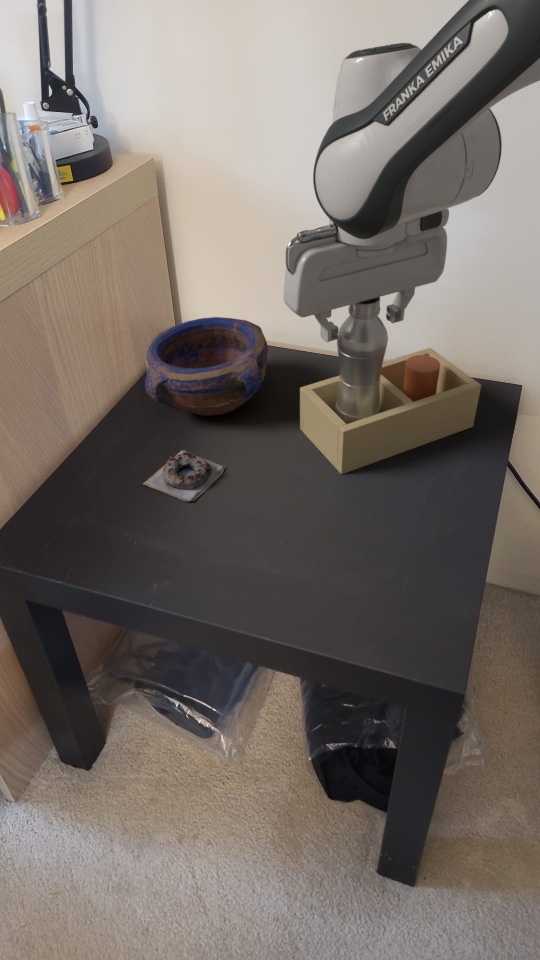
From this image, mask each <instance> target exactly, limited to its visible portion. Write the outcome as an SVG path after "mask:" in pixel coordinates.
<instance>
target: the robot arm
mask: <svg viewBox="0 0 540 960" xmlns="http://www.w3.org/2000/svg"><path fill="white" fill-rule="evenodd" d="M538 82H540V0H467V1H466V2H465V3H464V4H463V5H462V6H461V7H460V8H459V9H458V10H457V12H455V13H454V15H453V16H451V18H450V19H449V20H448V21H447V22H446V23H445V24H444V25H443V26H442V27H441V29H439V30H438V31H437V33H436V34H435V35H434V36H433V37H432V38H431V39H429V41H428V42H427V43H426V44H425V46H424V47H423V48H420V47H419V46H418V45H416V44H412V43H409V42H400V43H399V42H398V43H391V44H385V45H380V46H374V47H369V48H364V49H358V50H357V49H356V50H354V51H353V52H351V53H349V54H348V55H347V56H346V57H345V58H343V60H342V62H341V64H340V67H339V69H338V74H337V77H336V84H335V89H334V96H333V106H332V119H331V125H329V127H328V129H327V130H326V132H325V134H324V135H323V137H322V140H321V142H320V145H319V147H318V150H317V153H316V157H315V161H314V165H313V173H312V180H313V181H312V183H313V190H314V194H315V198H316V200H317V202H318V203H317V204H318V205H319V207H320V208H321V210H322V211H323V213H324V214H325V216H326V217H327V218H328V219H329V221H328V222H329V223H328V224H327V225H322V226H319V227H316V228H314V229H310V230H309V229H305V230H301V231H299V232H298V233H296V236H295V237H293V238H292V239H291V240H290V241H289V242H288V244H286V247H285V252H284V253H285V273H284V281H283V282H284V283H283V302H284V304H285V305H286V306H287V308H288V309H290V310H291V312H293V313H294V314H295V315H296V316H298V317H300V318H307V317H311V316H314V318H315V319H316V321H317V322H318V324H319V326H320V333H319V334H320V338H321V339H322V340H323V341H324V342H325V343H329V342H333V341H337V339H338V335H337V334H338V331H339V329H340V327H339V326H338V325H336V324H335V323H334V322H333V321H329V320H328V319H329V318H331V317H332V310H336V309H340V308H343V307H349V305H352V304H355V303H359V302H363V301H366V300H370V299H374V298H377V297H380V298H382V297H385V296H389V295H392V294H396V295H395V297H394V299H393V301H392V303H391V304H389V305H386V310H385V311H386V313H385V318H386V320H387V321H388V322H390V323H391V324H395V323H399V322H403V321H404V318H405V311H406V308H407V307H408V305H409V304H410V303H411V301H412V299H413V297H415V292H416V288H418V287H422V286H426V285H429V284H433V283H436V282H437V281H438V280H439V279H440V277H442V274H443V273H444V270H445V266H446V259H447V250H448V249H447V248H448V235H447V234H448V233H447V231H446V229H445V228H444V227H445V226H447V224H448V222H449V217H450V210H449V209H451V208H453V207H456V206H459V205H462V204H464V203H466V202H469V201H471V200H473V199H474V198H475V199H476V198H477V197H479V196H481V195H482V194H483V193H485V192H486V191H487V190H488V189H489V188H490V186H491V184H492V183H493V181H494V179H495V177H496V175H497V173H498V171H499V166H500V163H501V159H502V149H503V147H502V145H503V143H502V134H501V129H500V125H499V122H498V120H497V118H496V115H495V114H494V112H493V111H492V109H491V108H493V107H494V106H495V105H496V104H498V103H499V102H501V101H503V100H504V99H506V98H507V97H509V96H511V95H512V94H514V93H516V92H518V91H520V90H522V89H524V88H526V87H528V86H530V85H533V84H535V83H538Z"/></svg>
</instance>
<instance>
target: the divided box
mask: <svg viewBox="0 0 540 960" xmlns="http://www.w3.org/2000/svg"><path fill="white" fill-rule="evenodd" d="M416 355H427V356H431V357H434V358H435V359H437V360H438V361H439V362H440V371H439V378H438V384H437V391H436V395H433V396H430V397H427V398H424V399H421V400H418V401H415V402H413V401H412V400H411V399H410V398H408V397H407V396H406V395H405V394H404V393H403V383H404V374H405V366H406V361H407V359H408V358H410V357H412V356H416ZM339 383H340V374H339V375H337V376H333V377H330V378H327V379H324V380H320V381H317V382H314V383H310V384H308V385H304V386H301V387H299V430H300V431H301V432H302V433H303V434H304V435H305V436H306V437H307V438H308V440H310V442H311V443H312V444H313V445H314V446H315V447H316V449H318V451H320V453H321V454H322V455H323V456H324V457H325V458H326V459H327V460H328V462H329V463H330V464H331V465H332V466H333V467H334V468H335V470H337V472H338V473H339V474H340V475H343V474H347V473H349V472H352V471H355V470H358V469H361V468H363V467H367V466H369V465H371V464H374V463H377V462H380V461H382V460H385V459H388V458H391V457H394V456H397V455H399V454H402V453H404V452H407V451H410V450H412V449H415V448H419V447H421V446H424V445H426V444H429V443H433V442H435V441H438V440H441V439H443V438H447V437H448V436H451V435H454V434H457V433H459V432H462V431H465V430H468V429H470V428H473V427H474V423H475V420H476V419H475V418H476V414H477V410H478V405H479V399H480V394H481V391H482V390H481V389H482V384H481V383H479V382H478V381H476V379H474V378H473V377H471V376H470V375H469V374H467V373H466V372H464V371H463V370H461V369H460V368H459V367H457V366H456V365H455V364H453V363H452V362H451V361H449V360H448V359H447V358H446V357H444V356H443V355H441V354H440V353H439V352H437V351H435V350H434V349H433V348H431V347H427V348H424V349H421V350H418V351H414V352H411V353H408V354H405V355H402V356H398V357H395V358H392V359H388V360H385V361H383V364H382V370H381V376H380V406H381V413H379V414H376V415H373V416H370V417H367V418H364V419H361V420H358V421H355V422H352V423H349V424H346V423H345V422H344V421H343V420H342V419H341V418H340V417H339V416H338V415H337V414H336V413H335V412H334V410H335V406H336V402H337V398H338V391H339Z"/></svg>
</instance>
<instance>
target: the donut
mask: <svg viewBox="0 0 540 960" xmlns="http://www.w3.org/2000/svg"><path fill="white" fill-rule="evenodd" d="M225 469H226V466H224V465H222V464H219V463H217V462H213V461H211V460H209V459H206V458H203V457H202V456H199V455H197V454H194V453H192V452H188V451H187V450H183V449H181V450H180V451H179V452H178V453H177V454H176V455H169V458H168V459H167V462H166V463H165V464H164V465H163V466H162V467H160V468H159V469H158V470H157V471H155V472H154V473H153V474H152V475H151V476H150V477H148V479H147V480H145V481H144V482H143V483H142V485H144V486H147V487H149V488H151V489H154V490H156V491H158V492H161V493H163V494H166V495H168V496H171V497H173V498H176V499H178V500H180V501H183V502H185V503H186V502H195V501H196V500H197V499H198V498H199V497H201V495H202V494H203V493H205V492H206V491H207V490H208V489H209V488H210V487H211V486H212V485H213V484H214V483H215V482H216V481H217V480H219V478H220V477H221V476H222V475H223V472H224V471H225Z"/></svg>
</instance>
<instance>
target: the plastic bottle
mask: <svg viewBox="0 0 540 960" xmlns="http://www.w3.org/2000/svg"><path fill="white" fill-rule="evenodd" d="M347 310H348V314H349V316H347V318H345V320H344V321H343V322H342V324H341V325H340V327H339V329H338V334H337V335H338V339H337V340H336V346H337V347H336V348H337V356H338V363H339V364H338V365H339V369H338V370H339V375H340V383H339V391H338V398H337V402H336V406H335V410H334V412H335V413H336V414H337V415H338V416H339V417H340V418H341V419H342V420H343V421H344V422H345V423H346V424H349V423H352V422H355V421H358V420H361V419H364V418H367V417H370V416H373V415H376V414H379V413H381V406H380V376H381V370H382V364H383V362H384V360H385V359H384V358H385V355H386V351H387V348H388V343H389V342H388V341H389V334H388V330H387V327H386V326H385V324H384V322H383V321H382V319H381V318H380V316H379V315H380V313H381V297H377V298H374V299H370V300H366V301H363V302H359V303H355V304H352V305H348V309H347Z"/></svg>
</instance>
